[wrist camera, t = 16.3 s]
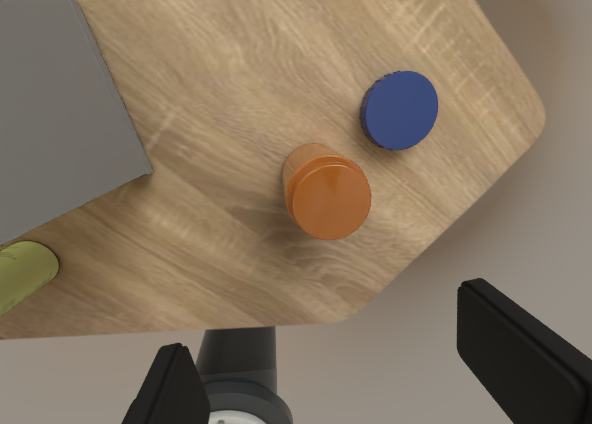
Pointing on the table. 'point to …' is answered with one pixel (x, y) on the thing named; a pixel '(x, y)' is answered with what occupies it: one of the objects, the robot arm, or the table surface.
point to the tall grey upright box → (57, 117)
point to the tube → (24, 272)
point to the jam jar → (325, 192)
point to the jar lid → (399, 110)
